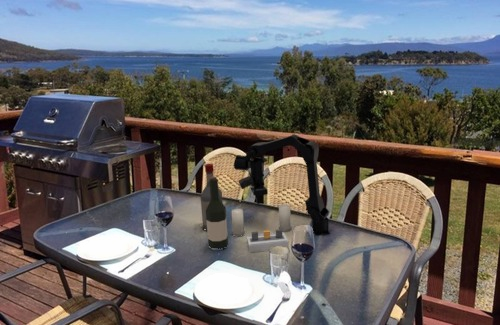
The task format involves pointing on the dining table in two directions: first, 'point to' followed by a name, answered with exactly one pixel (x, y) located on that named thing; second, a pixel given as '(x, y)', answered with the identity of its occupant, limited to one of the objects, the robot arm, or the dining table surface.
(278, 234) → the paddle
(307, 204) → the robot arm
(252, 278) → the dining table surface
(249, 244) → the box
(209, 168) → the liquor
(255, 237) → the paddle
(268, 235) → the block
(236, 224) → the post
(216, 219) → the wine bottle
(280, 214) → the post
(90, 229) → the dining table surface
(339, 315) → the dining table surface
